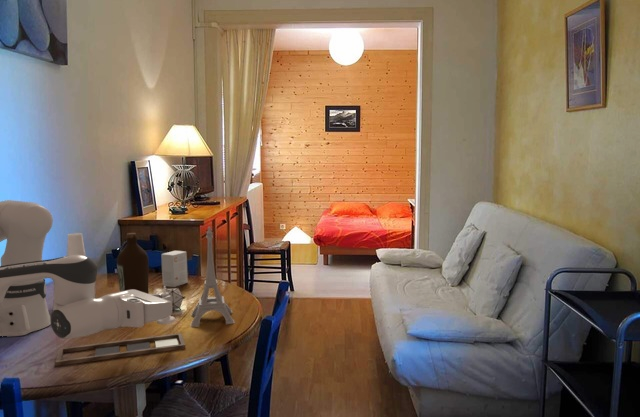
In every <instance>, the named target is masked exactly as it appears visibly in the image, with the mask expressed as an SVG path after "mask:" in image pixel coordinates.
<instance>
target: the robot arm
mask: <svg viewBox="0 0 640 417" xmlns="http://www.w3.org/2000/svg"><path fill="white" fill-rule="evenodd" d="M53 221H54V220H53V215H52V213H51V211H50V210H49V209H48V208H46V207H44V206H43V205H41V204H39V203H37V202H32V201H22V200H21V201H20V200H11V199H8V200H7V199H6V200H2V201H0V243H1V242H3V241H5V240H6V243H5V244H6V245H5V247H4V248H5V249H4V253H3V254H2V255H1V257H0V336H2V337H3V336H7V337H19V336H20V337H21V336H25V335H27V334H30V333H32V332H36V331H38V330H41V329H44V328H47V327H49V326H51V329H52V331H53V333H54V334H55V335H56V336H57V337H58V338H59V339H64V340H68V339H78V338H84V337H89V336H91V335H96V334H98V333H100V332H102V331H104V330H114V329H117V328H124V327H127V328H128V327H131V328H142V327H144V326H145V324H149V323H154V322H157V320H160V319H163V318H166V317H168V316H171V315H172V314H173V309H172V302H173V297H172V296H170V295H168V296H164V298H162V295H161V293H162V292H161V293H160V292H159V293H149V294H147V293H144V292H141V291H138V290H135V289H131V290H126V291H121V292H120V291H117V292H112V293H108V294H104V295H102V296H100V297H97V298H96V280H97V275H98V265H97V264H96V263H95V262H94V261H93V259H91V258H90V257H89V256H88V255H70V256H67V255H66V256H61V257H57V258H56V257H55V258H50V259H49V258H48V259H43V251H44V247H45V246H44V245H45V241H46V237H47V235H48V234H49V232H50V231H51V229H52V227H53ZM46 279H51V280H52V281H53V306H52V307H53V308H52V310H53V311H52V312H51V314H50V312H49V307H48V303H47V300H46V299H47V298H46V297H47V283H46ZM2 337H1V338H2ZM3 338H4V337H3Z"/></svg>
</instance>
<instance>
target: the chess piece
mask: <svg viewBox="0 0 640 417" xmlns="http://www.w3.org/2000/svg"><path fill="white" fill-rule="evenodd" d="M166 289H167V286H163V289H162V292H161V295H162V298H164V296H168V295H169V293H168V292H166ZM175 322H176V318H175V316H171V315H170V316H168V317H166V318H163V319H160V320H157V321H156V323H157V324H158V325H170V324H171V325H172V324H173V323H175Z"/></svg>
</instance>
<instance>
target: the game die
mask: <svg viewBox="0 0 640 417" xmlns="http://www.w3.org/2000/svg"><path fill="white" fill-rule="evenodd" d="M180 287H181V285H179V286H177V287H172V288H166V292H168V293H169V295H170V296H172V297H173V302H172V310H177V309H178V310H180V311H182V308H181V307H182V306H181V305H182V303H183V301H184V299H185V298H186V296H184V295H183V293H182V292H181V290H180Z"/></svg>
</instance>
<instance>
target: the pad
mask: <svg viewBox="0 0 640 417" xmlns="http://www.w3.org/2000/svg"><path fill="white" fill-rule="evenodd" d="M154 343H155V344H154V345H155V348H156V347H163V346H171V345H178V344H179V340H178V338H173V339H166V340H158V341H154Z"/></svg>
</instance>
